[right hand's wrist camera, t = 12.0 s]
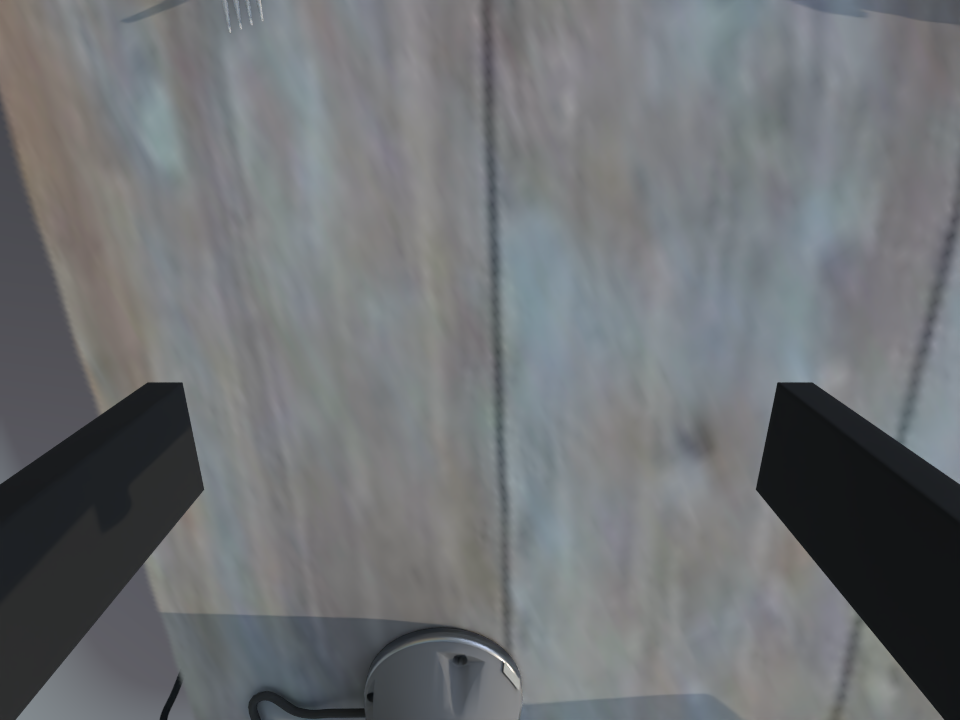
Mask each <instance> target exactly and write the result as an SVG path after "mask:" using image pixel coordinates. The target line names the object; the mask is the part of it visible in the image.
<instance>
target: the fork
mask: <svg viewBox="0 0 960 720" xmlns="http://www.w3.org/2000/svg"><path fill="white" fill-rule="evenodd" d="M221 1H222V5H223V9H224V13H225V17H226V21H227V25H228V31H229V33H231V27H230V18H229V9H228V3H227V0H221ZM256 1H257V5H258V9H259V13H260V17H261V21H262V22H263V15H262V7H261V0H256ZM233 3H234V6H235V10H236V14H237V18H238V22H239V27H240V29H242V27H241V17H240V9H239V2H238V0H233ZM245 4H246V8H247V12H248V16H249V20H250V24H251V25H252V16H251V8H250V0H245Z"/></svg>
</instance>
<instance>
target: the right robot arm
mask: <svg viewBox="0 0 960 720" xmlns="http://www.w3.org/2000/svg"><path fill="white" fill-rule="evenodd" d="M203 490H204V487H203V482H202V477H201V472H200V467H199V462H198V457H197V452H196V447H195V442H194V437H193V432H192V427H191V422H190V418H189V413H188V408H187V403H186V398H185V393H184V388H183V383H146V384H145V385H143V386H142V387H141V388H139V389H138V390H136V391H135V392H133V393H132V394H130V395H129V396H128V397H126V398H125V399H123V400H122V401H120V402H119V403H117V404H116V405H114V406H113V407H112V408H110V409H109V410H107V411H106V412H104V413H103V414H101V415H100V416H99V417H97V418H96V419H94V420H93V421H91V422H90V423H89V424H87V425H86V426H84V427H83V428H81V429H80V430H78V431H77V432H75V433H74V434H73V435H71V436H70V437H68V438H67V439H65V440H64V441H62V442H61V443H60V444H58V445H57V446H55V447H54V448H52V449H51V450H49V451H48V452H47V453H45V454H44V455H42V456H41V457H39V458H38V459H36V460H35V461H34V462H32V463H31V464H29V465H28V466H26V467H25V468H23V469H22V470H20V471H19V472H18V473H16V474H15V475H13V476H12V477H10V478H9V479H7V480H6V481H5V482H3V483H2V484H0V720H16V718H17V717H18V716H19V715H20V714H21V712H22V711H23V710H24V709H25V708H26V706H27V705H28V704H29V703H30V701H31V700H32V699H33V698H34V696H35V695H36V694H37V693H38V692H39V690H40V689H41V688H42V687H43V686H44V684H45V683H46V682H47V681H48V679H49V678H50V677H51V676H52V674H53V673H54V672H55V671H56V670H57V668H58V667H59V666H60V665H61V664H62V662H63V661H64V660H65V659H66V657H67V656H68V655H69V654H70V653H71V651H72V650H73V649H74V648H75V646H76V645H77V644H78V643H79V642H80V640H81V639H82V638H83V637H84V635H85V634H86V633H87V632H88V631H89V629H90V628H91V627H92V626H93V625H94V623H95V622H96V621H97V620H98V618H99V617H100V616H101V615H102V614H103V612H104V611H105V610H106V609H107V607H108V606H109V605H110V604H111V603H112V601H113V600H114V599H115V598H116V596H117V595H118V594H119V593H120V592H121V590H122V589H123V588H124V587H125V585H126V584H127V583H128V582H129V580H130V579H131V578H132V577H133V576H134V574H135V573H136V572H137V571H138V570H139V568H140V567H141V566H142V565H143V563H144V562H145V561H146V560H147V559H148V557H149V556H150V555H151V554H152V552H153V551H154V550H155V549H156V548H157V546H158V545H159V544H160V543H161V542H162V540H163V539H164V538H165V537H166V535H167V534H168V533H169V532H170V531H171V529H172V528H173V527H174V526H175V524H176V523H177V522H178V521H179V520H180V518H181V517H182V516H183V515H184V513H185V512H186V511H187V510H188V509H189V507H190V506H191V505H192V504H193V502H194V501H195V500H196V499H197V498H198V496H199V495H200V494H201V493H202V491H203ZM756 490H757V491H758V493H759V494H760V495H761V496H762V498H763V499H764V500H765V501H766V502H767V504H768V505H769V506H770V507H771V509H772V510H773V511H774V512H775V513H776V515H777V516H778V517H779V518H780V520H781V521H782V522H783V523H784V524H785V526H786V527H787V528H788V529H789V531H790V532H791V533H792V534H793V535H794V537H795V538H796V539H797V540H798V542H799V543H800V544H801V545H802V546H803V548H804V549H805V550H806V551H807V552H808V554H809V555H810V556H811V557H812V559H813V560H814V561H815V562H816V563H817V565H818V566H819V567H820V568H821V570H822V571H823V572H824V573H825V574H826V576H827V577H828V578H829V579H830V581H831V582H832V583H833V584H834V585H835V587H836V588H837V589H838V590H839V592H840V593H841V594H842V595H843V596H844V598H845V599H846V600H847V601H848V603H849V604H850V605H851V606H852V607H853V609H854V610H855V611H856V612H857V614H858V615H859V616H860V617H861V618H862V620H863V621H864V622H865V623H866V625H867V626H868V627H869V628H870V629H871V631H872V632H873V633H874V634H875V635H876V637H877V638H878V639H879V640H880V642H881V643H882V644H883V645H884V646H885V648H886V649H887V650H888V651H889V653H890V654H891V655H892V656H893V657H894V659H895V660H896V661H897V662H898V664H899V665H900V666H901V667H902V668H903V670H904V671H905V672H906V673H907V675H908V676H909V677H910V678H911V679H912V681H913V682H914V683H915V684H916V686H917V687H918V688H919V689H920V690H921V692H922V693H923V694H924V695H925V697H926V698H927V699H928V700H929V701H930V703H931V704H932V705H933V706H934V708H935V709H936V710H937V711H938V712H939V714H940V715H941V716H942V717H943V718H944V720H960V484H958V483H957V482H955V481H954V480H953V479H951V478H950V477H948V476H947V475H945V474H944V473H942V472H941V471H940V470H938V469H937V468H935V467H934V466H932V465H931V464H929V463H928V462H926V461H925V460H924V459H922V458H921V457H919V456H918V455H916V454H915V453H913V452H912V451H911V450H909V449H908V448H906V447H905V446H903V445H902V444H900V443H899V442H898V441H896V440H895V439H893V438H892V437H890V436H889V435H887V434H886V433H885V432H883V431H882V430H880V429H879V428H877V427H876V426H874V425H873V424H872V423H870V422H869V421H867V420H866V419H864V418H863V417H861V416H860V415H859V414H857V413H856V412H854V411H853V410H851V409H850V408H848V407H847V406H846V405H844V404H843V403H841V402H840V401H838V400H837V399H835V398H834V397H832V396H831V395H830V394H828V393H827V392H825V391H824V390H822V389H821V388H819V387H818V386H817V385H815V384H814V383H777V388H776V393H775V398H774V403H773V408H772V413H771V418H770V422H769V427H768V432H767V437H766V442H765V447H764V452H763V457H762V462H761V467H760V472H759V477H758V482H757V487H756ZM182 683H183V681H182V678H181V674H180V672H179V674H178V676H177V679H176V681H175V684H174V686H173V689H172V691H171V693H170V696H169V698H168V700H167V702H166V704H165V706H164V708H163V710H162V712H161V715H160V720H167V719H168V715H169V712H170V710H171V708H172V706H173V704H174V702H175V699H176V697H177V695H178V693H179V690H180V688H181V685H182ZM262 700H268V701H271V702H273V703H275V704H276V705H278V706H279V707H281V708H282V709H283V710H285V711H286V712H288V713H290V714H292V715H294V716H297V717H301V718H310V719H317V718H353V717H366V720H519V719H520V715H521V708H522V686H521V677H520V673H519V670H518V668H517V666H516V664H515V662H514V661H513V659H512V658H511V657H510V655H509V654H508V653H507V652H506V651H505V650H504V649H503V648H502V647H500V646H499V645H498V644H496V643H495V642H493V641H492V640H490V639H488V638H486V637H484V636H481V635H479V634H476V633H473V632H470V631H466V630H461V629H454V628H431V629H424V630H419V631H415V632H412V633H409V634H407V635H404V636H402V637H400V638H398V639H396V640H394V641H393V642H391V643H390V644H388V645H387V646H386V647H385V648H384V649H383V650H381V651H380V653H379V654H378V655H377V656H376V658H375V659H374V661H373V662H372V664H371V666H370V669H369V672H368V677H367V681H366V686H365V691H364V708H360V709H322V710H309V709H303V708H299V707H296V706H294V705H292V704H291V703H289V702H288V701H286V700H285V699H284V698H282V697H281V696H279V695H277V694H276V693H273V692H269V691H265V692H260V693H258V694H256V695H254V696H253V697H252V699H251V700H250V702H249V706H248V708H249V714H250V717H251V720H261V719H260V717H259V714H258V711H257V707H256V706H257V703H258V702H260V701H262Z"/></svg>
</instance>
